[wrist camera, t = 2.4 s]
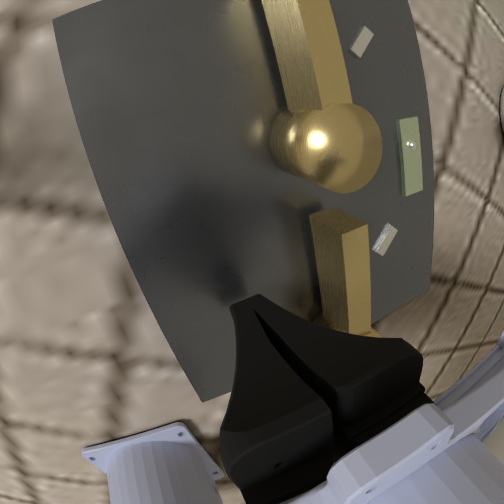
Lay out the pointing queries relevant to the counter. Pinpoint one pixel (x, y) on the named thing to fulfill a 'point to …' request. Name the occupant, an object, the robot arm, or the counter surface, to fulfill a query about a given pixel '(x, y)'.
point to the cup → (502, 108)
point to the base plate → (240, 161)
